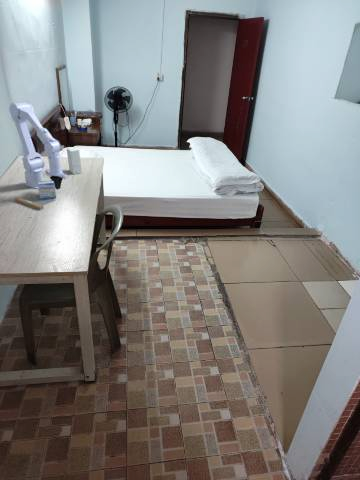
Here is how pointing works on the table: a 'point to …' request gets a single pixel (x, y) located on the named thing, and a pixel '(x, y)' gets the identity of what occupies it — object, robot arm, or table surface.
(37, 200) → the level mat
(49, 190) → the medicine box
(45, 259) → the table surface
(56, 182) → the robot arm
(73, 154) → the skincare box
